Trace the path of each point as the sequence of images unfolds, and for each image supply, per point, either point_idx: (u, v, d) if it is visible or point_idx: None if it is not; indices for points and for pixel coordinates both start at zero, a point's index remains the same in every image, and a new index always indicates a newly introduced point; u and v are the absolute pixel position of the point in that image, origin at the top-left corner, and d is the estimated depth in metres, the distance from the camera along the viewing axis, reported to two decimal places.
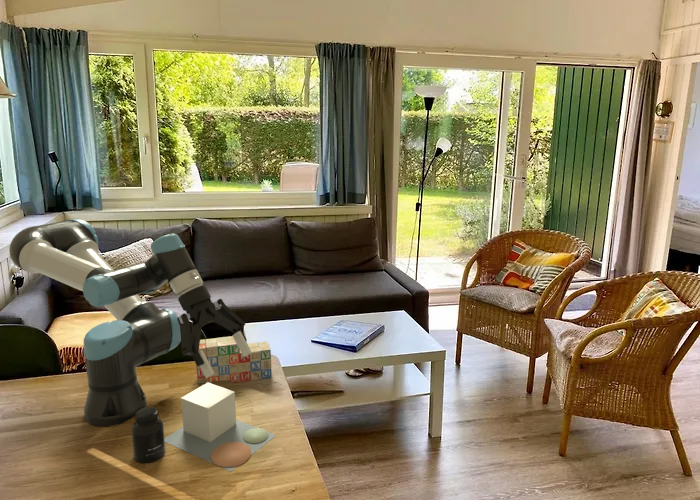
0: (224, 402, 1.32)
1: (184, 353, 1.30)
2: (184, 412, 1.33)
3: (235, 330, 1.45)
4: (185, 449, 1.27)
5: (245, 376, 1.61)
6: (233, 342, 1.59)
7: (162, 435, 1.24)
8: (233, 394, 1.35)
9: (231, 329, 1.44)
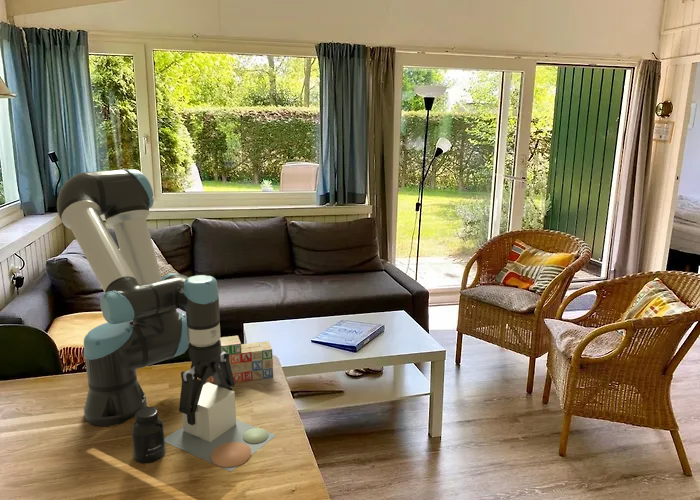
0: (224, 402, 1.32)
1: (181, 411, 1.27)
2: None
3: None
4: (185, 449, 1.27)
5: (246, 376, 1.61)
6: (235, 342, 1.59)
7: (162, 435, 1.24)
8: (233, 394, 1.35)
9: (220, 386, 1.38)
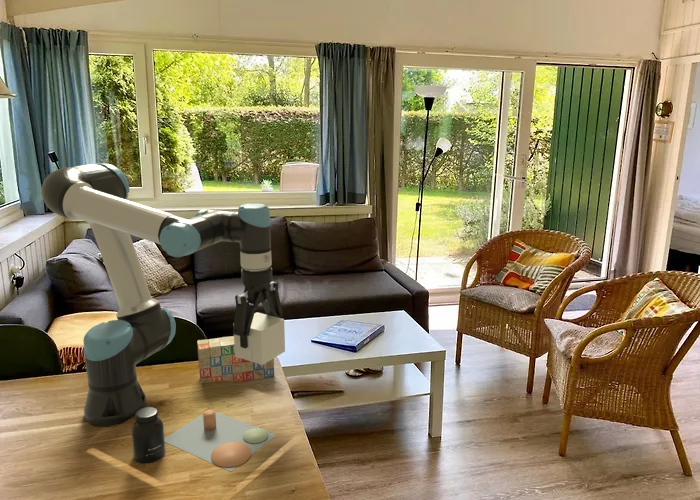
0: (274, 328, 1.37)
1: (235, 333, 1.32)
2: (236, 337, 1.38)
3: None
4: (185, 449, 1.27)
5: (248, 376, 1.61)
6: None
7: (162, 435, 1.24)
8: (282, 321, 1.40)
9: None
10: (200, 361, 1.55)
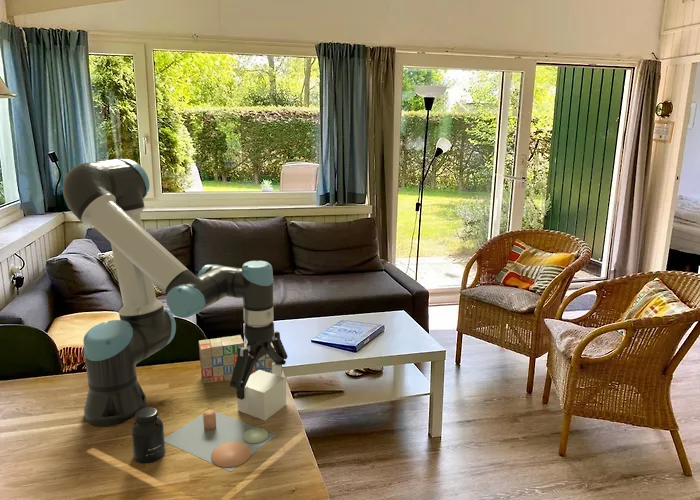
0: (276, 388, 1.42)
1: (232, 386, 1.34)
2: None
3: (276, 361, 1.49)
4: (185, 449, 1.27)
5: None
6: (238, 341, 1.59)
7: (162, 435, 1.24)
8: (284, 380, 1.44)
9: (274, 359, 1.48)
10: (202, 361, 1.55)
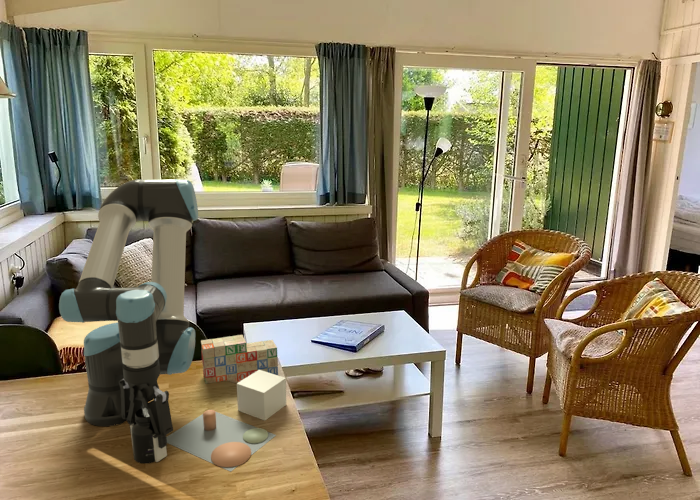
0: (276, 388, 1.42)
1: None
2: (239, 397, 1.42)
3: None
4: (185, 449, 1.27)
5: None
6: (240, 341, 1.59)
7: None
8: (284, 380, 1.44)
9: None
10: (205, 361, 1.56)
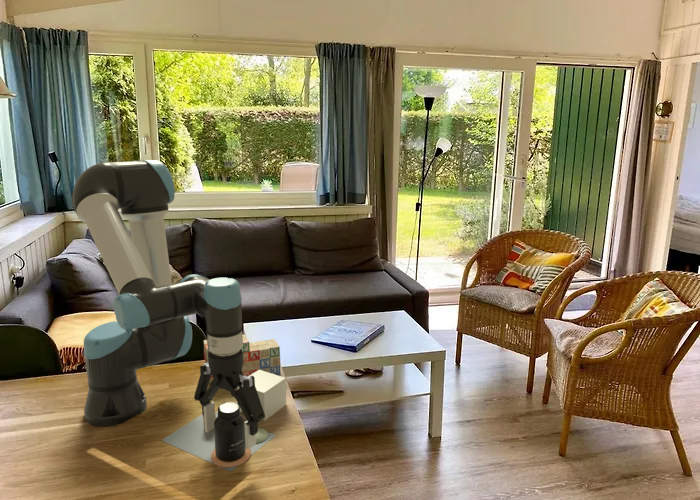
0: (276, 388, 1.42)
1: None
2: None
3: None
4: (185, 449, 1.27)
5: None
6: (243, 341, 1.60)
7: (244, 430, 1.23)
8: (284, 380, 1.44)
9: None
10: None
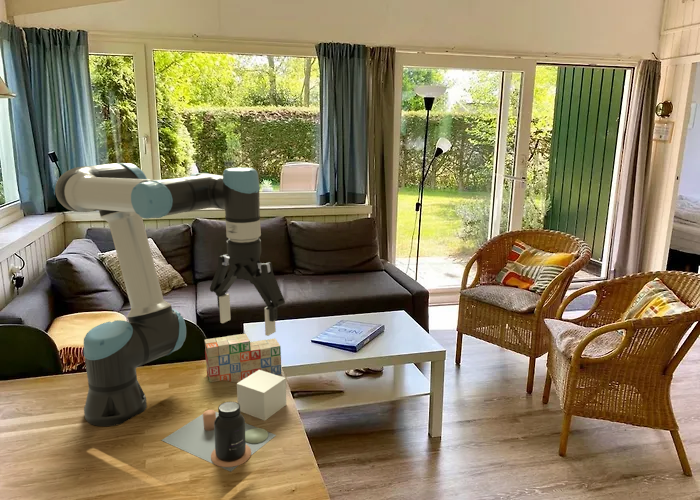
0: (276, 388, 1.42)
1: None
2: (239, 397, 1.42)
3: None
4: (185, 449, 1.27)
5: None
6: (244, 340, 1.60)
7: (244, 430, 1.23)
8: (284, 380, 1.44)
9: None
10: (209, 360, 1.56)
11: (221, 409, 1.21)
